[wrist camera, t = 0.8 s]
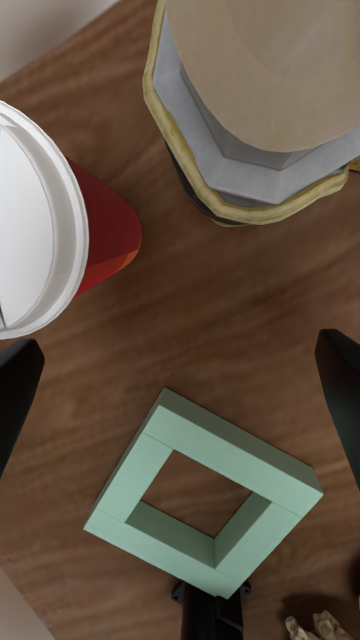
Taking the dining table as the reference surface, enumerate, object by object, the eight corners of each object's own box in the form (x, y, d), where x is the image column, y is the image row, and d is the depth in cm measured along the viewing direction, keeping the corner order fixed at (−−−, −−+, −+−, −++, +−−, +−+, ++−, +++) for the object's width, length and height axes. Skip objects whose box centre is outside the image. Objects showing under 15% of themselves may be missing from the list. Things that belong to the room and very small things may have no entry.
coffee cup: (72, 157, 22) (-179, 11, 8) (173, 203, 22) (108, 143, 8) (42, 261, 25) (-193, 296, 10) (134, 302, 25) (29, 393, 10)
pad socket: (224, 569, 32) (225, 602, 29) (94, 502, 31) (82, 529, 28) (312, 467, 27) (324, 494, 24) (164, 386, 27) (158, 404, 24)
